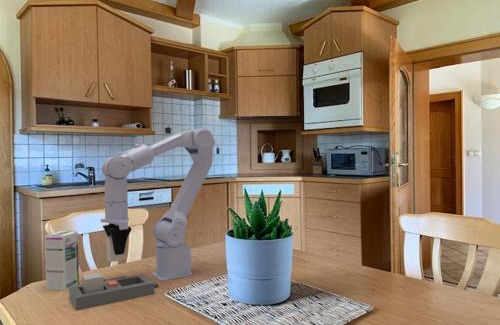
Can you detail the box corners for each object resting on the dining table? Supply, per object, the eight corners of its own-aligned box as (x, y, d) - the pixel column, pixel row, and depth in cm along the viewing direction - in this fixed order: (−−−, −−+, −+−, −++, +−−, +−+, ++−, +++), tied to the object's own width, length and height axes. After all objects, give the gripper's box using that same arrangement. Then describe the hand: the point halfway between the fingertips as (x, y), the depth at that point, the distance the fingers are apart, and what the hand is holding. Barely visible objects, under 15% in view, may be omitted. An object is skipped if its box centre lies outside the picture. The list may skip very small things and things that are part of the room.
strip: (151, 283, 105) (151, 261, 105) (163, 292, 98) (163, 269, 97) (69, 299, 94) (69, 274, 94) (76, 311, 86) (75, 284, 86)
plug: (122, 256, 106) (121, 233, 106) (126, 259, 102) (125, 235, 102) (106, 258, 104) (106, 234, 104) (110, 262, 100) (109, 237, 100)
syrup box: (65, 291, 99) (64, 235, 99) (45, 290, 100) (44, 234, 100) (79, 284, 105) (78, 230, 104) (60, 283, 106) (59, 230, 106)
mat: (125, 277, 110) (125, 276, 110) (133, 284, 104) (133, 283, 104) (95, 282, 106) (95, 281, 106) (102, 290, 99) (102, 289, 99)
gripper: (94, 200, 107) (95, 249, 107) (107, 205, 95) (107, 260, 95) (121, 198, 111) (121, 245, 111) (135, 203, 98) (136, 256, 99)
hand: (117, 252), depth 103 cm, fingers closed on plug, 4 cm apart
